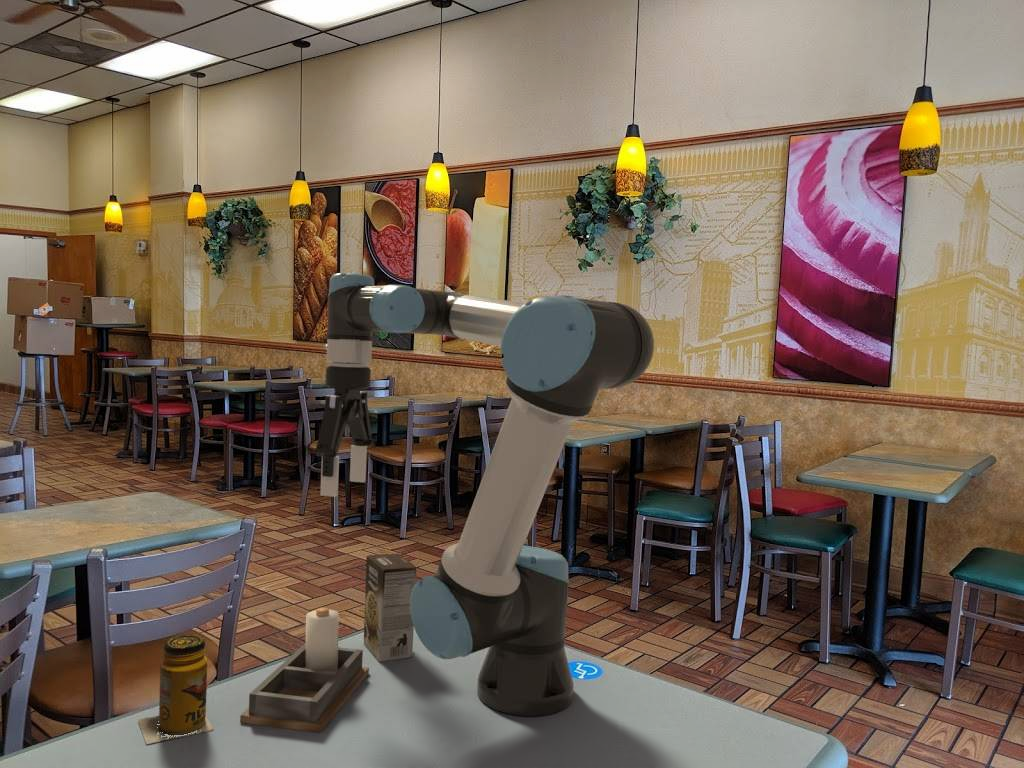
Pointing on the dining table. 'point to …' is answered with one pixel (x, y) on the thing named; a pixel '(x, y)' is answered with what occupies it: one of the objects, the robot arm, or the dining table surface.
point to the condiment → (180, 691)
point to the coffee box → (389, 606)
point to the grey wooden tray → (305, 692)
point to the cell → (322, 640)
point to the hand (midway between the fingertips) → (344, 488)
